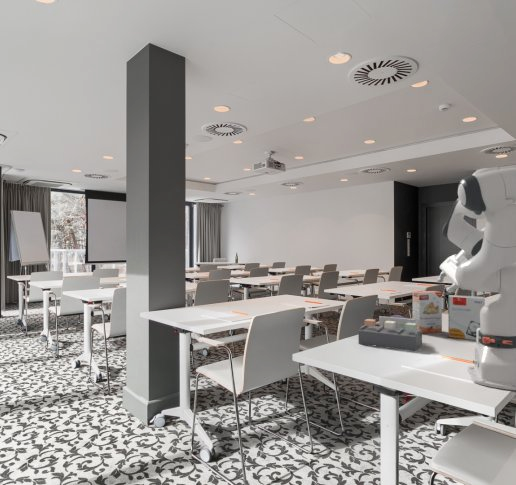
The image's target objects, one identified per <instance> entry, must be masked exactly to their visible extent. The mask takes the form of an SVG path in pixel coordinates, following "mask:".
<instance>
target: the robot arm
mask: <svg viewBox="0 0 516 485" xmlns="http://www.w3.org/2000/svg"><path fill="white" fill-rule="evenodd" d="M457 196H458V198H457V199H455V201H454V202H453V203H454V204H453V205H452V208H451V210H450V212H449V214H448V217H447V220H446V222H445V223H444V225H443V227H442V229H441V230H442V237H443V238H444V239H446V240H447V241H449V242H451V243H452V244H453V245H454V246H456V247H458V248H460V249H461V250H459V252H458V253H455V254H452V255H450V256H448V257H447V258H445V260H444V261H442V263H440V265H439V269H440V270H441V272H440V274H439V277H438V278H437V279H436V281H437V282H438V283H439V284H442V283H443V282H444V279H445V277H448V278H449V279H450V280H451V281H452V282H453V283H452V284H451V285H450V286H447V287H446V289H445V291H446V292H447V293H448V294H451V293H452V292H453V291H456V290H457V289H458V288H460V290H462V291H465V290H466V291H467V290H468V291H471V292H477V293H478V292H479V293H480V292H481V293H498V294H499V297H498V298H497V299H496V300H494V301H492V302H489V303H487V304H486V303H485V306H483V307H482V308H481V310H480V331H479V335H478V337H479V342H480V343H479V344H478V345H477V344H476V345H475V346H474V352H473V353H474V359H473V360H472V363H473V366H472V365H471V366H468V367H467V371H468V373H469V375H470V377H471V380H472V382H474V383H475V384H477V385H481V386H485V387H490V388H495V389H501V390H508V391H509V390H510V391H516V167H508V168H507V167H506V168H502V169H494V168H490V167H485V168H480V169H478V170H475V172H473V173H472V174H471V175H469V176H466V177H464V178H462V179H461V180H460V182H459V183H458V187H457ZM465 216H467V217H468V218H471V219H476V220H482V219H485V226H484V227H483V228H481V229H480V230H479V229H477V228H476V227H475V226H473V225H471V224H470V223H468V222H467V221H466V219H464V218H465Z"/></svg>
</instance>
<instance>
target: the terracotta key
mask: <svg viewBox="0 0 516 485" xmlns="http://www.w3.org/2000/svg"><path fill="white" fill-rule="evenodd" d="M363 323H364V325H363V326H371V327H373V326H377V319H373V318H367V319H364V322H363Z"/></svg>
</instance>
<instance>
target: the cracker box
mask: <svg viewBox="0 0 516 485" xmlns="http://www.w3.org/2000/svg"><path fill="white" fill-rule="evenodd" d="M412 319H414V323H417V331H418V330H419V329H421V331H422V334H431V333H432V334H433V333H442V332H443V292H441V291H438V290H428V291H427V290H425V291H424V290H423V291H412Z"/></svg>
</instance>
